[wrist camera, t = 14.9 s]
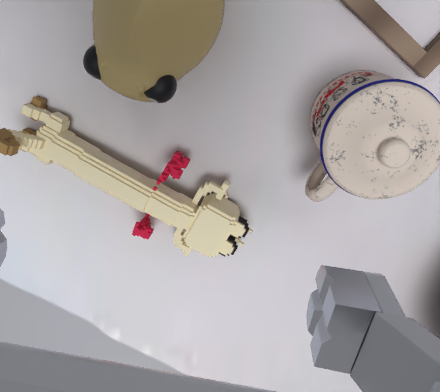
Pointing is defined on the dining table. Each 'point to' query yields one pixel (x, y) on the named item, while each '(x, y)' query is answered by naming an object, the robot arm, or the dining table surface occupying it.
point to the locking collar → (397, 37)
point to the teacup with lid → (373, 136)
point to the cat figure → (134, 185)
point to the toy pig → (150, 43)
